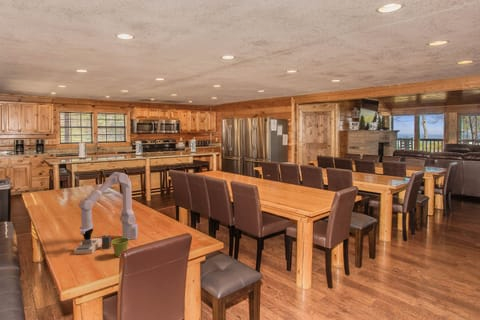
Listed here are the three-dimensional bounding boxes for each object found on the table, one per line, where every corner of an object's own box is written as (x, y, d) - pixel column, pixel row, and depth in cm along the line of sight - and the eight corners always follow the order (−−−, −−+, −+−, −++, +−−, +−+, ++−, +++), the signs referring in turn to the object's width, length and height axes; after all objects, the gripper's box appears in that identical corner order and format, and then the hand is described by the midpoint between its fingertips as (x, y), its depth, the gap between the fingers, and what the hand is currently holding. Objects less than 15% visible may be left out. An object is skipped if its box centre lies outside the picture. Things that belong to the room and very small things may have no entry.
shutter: (92, 244, 185) (92, 239, 185) (88, 249, 178) (88, 243, 178) (81, 245, 184) (81, 239, 184) (76, 249, 178) (76, 244, 177)
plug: (111, 246, 190) (110, 233, 189) (109, 248, 186) (108, 235, 185) (104, 246, 189) (103, 233, 189) (102, 249, 186) (101, 235, 185)
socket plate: (102, 241, 197) (102, 238, 197) (92, 253, 179) (92, 249, 179) (86, 242, 196) (86, 238, 196) (74, 253, 178) (73, 249, 178)
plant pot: (129, 257, 174) (128, 242, 173) (111, 259, 171) (110, 244, 170) (130, 251, 183) (129, 236, 182) (112, 252, 180) (112, 238, 179)
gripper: (84, 216, 191) (85, 237, 192) (74, 223, 177) (75, 246, 178) (96, 216, 192) (97, 237, 193) (87, 223, 177) (88, 246, 179)
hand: (87, 241), depth 186 cm, fingers closed
